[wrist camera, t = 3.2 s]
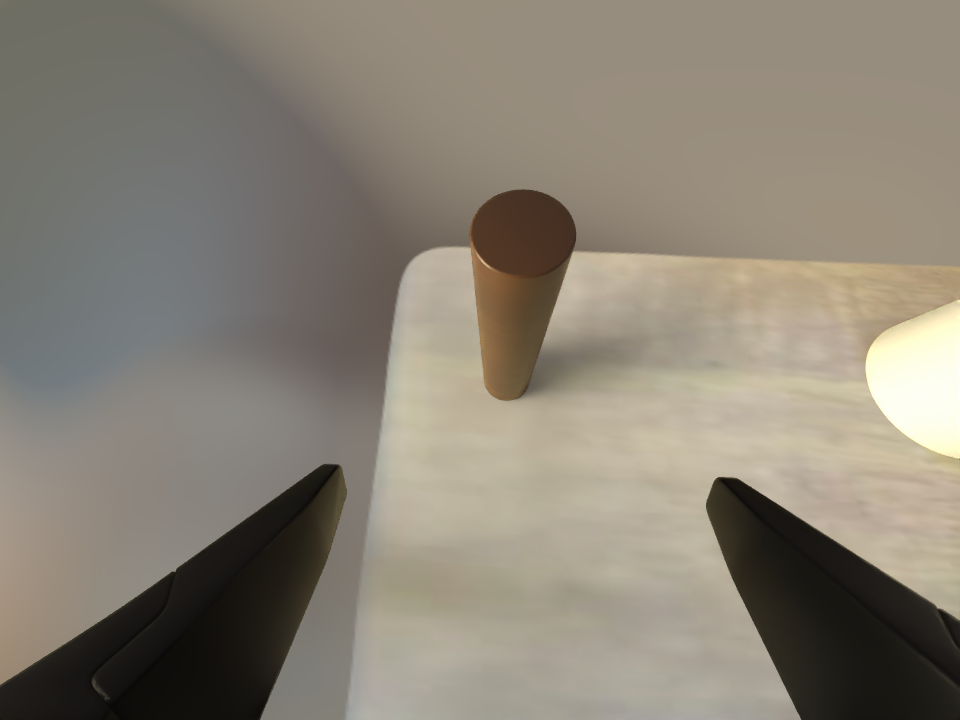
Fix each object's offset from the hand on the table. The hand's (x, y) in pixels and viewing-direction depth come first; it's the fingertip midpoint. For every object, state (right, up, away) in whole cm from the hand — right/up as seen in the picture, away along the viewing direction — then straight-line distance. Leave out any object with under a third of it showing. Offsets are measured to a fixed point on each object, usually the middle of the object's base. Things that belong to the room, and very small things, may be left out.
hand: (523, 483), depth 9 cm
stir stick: (+1, +2, +14) cm, 14 cm away
